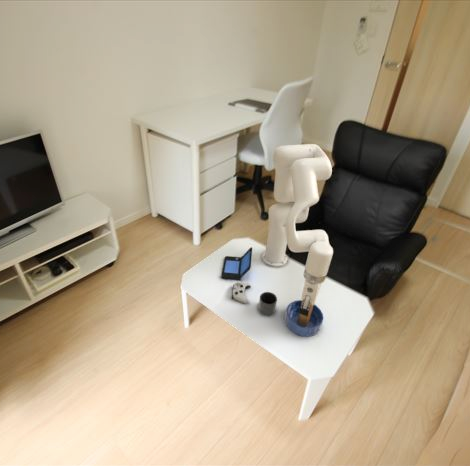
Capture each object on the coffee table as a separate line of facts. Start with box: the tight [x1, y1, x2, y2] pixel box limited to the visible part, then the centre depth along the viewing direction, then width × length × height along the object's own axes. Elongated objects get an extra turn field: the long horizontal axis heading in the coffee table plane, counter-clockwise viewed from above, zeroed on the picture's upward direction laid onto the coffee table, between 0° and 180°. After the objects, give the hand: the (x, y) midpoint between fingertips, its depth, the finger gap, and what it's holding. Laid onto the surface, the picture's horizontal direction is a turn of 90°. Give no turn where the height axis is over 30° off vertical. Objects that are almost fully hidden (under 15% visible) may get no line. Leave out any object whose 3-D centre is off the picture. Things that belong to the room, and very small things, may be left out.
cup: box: [258, 291, 278, 316], centre depth 131 cm, size 7×7×7 cm
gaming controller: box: [231, 281, 251, 305], centre depth 139 cm, size 11×6×7 cm
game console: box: [220, 246, 253, 282], centre depth 150 cm, size 16×13×9 cm
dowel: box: [297, 298, 313, 327], centre depth 123 cm, size 4×4×12 cm
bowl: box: [284, 299, 324, 338], centre depth 126 cm, size 14×14×6 cm
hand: (306, 305), depth 122 cm, fingers open, 9 cm apart
